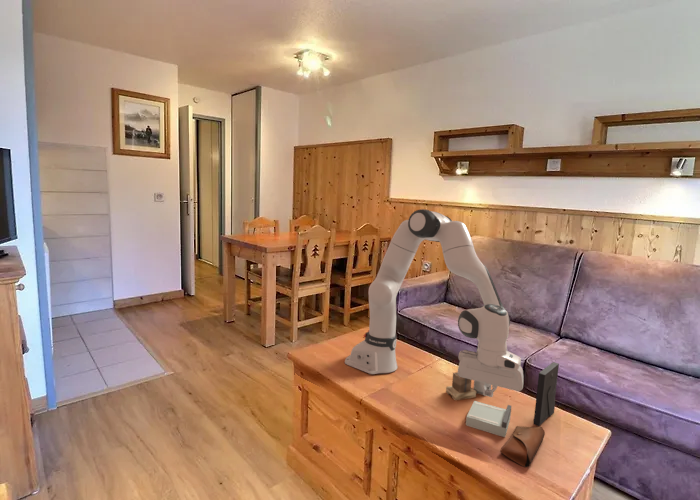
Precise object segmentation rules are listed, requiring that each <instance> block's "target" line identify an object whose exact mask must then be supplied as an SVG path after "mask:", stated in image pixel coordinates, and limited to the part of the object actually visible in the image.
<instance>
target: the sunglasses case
mask: <svg viewBox="0 0 700 500" xmlns="http://www.w3.org/2000/svg"><path fill="white" fill-rule="evenodd" d="M545 435H546V432H545V430H544V428H543V427H542V426H537V427H532V426H531V427H530V426H518V425H517V426H515V428H514V430H513V432H512V434H511V435H510V436H509V438H508V439H507V441H506V442H505V443H504V444H503V446H502V447H501V448H500V450H499V452H500V453H501V454H502V455H503V456H505V457H507V458H508V459H510V460H511V461H513V462H515V463H516V464H518V465H520V466H521V467H524V468H528V467H530V465H531V463H532V462H533V460H534V458H535V456H536V454H537V453H538V452H537V451H538V450H539V447H540V446H541V444H542V442H543V441H544V437H545Z"/></svg>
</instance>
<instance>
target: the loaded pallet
mask: <svg viewBox="0 0 700 500" xmlns="http://www.w3.org/2000/svg"><path fill="white" fill-rule="evenodd" d="M445 393H447V396H449V395H450V396H451V397H452V399H453V400H454V401H459V400H467V399H473V398H477V393H476V391H475V390H474V387H472V380H470V379H466V378H462V377H459V375H458V371H457V372H452V383H451V385H449V386H446V387H445Z"/></svg>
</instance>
